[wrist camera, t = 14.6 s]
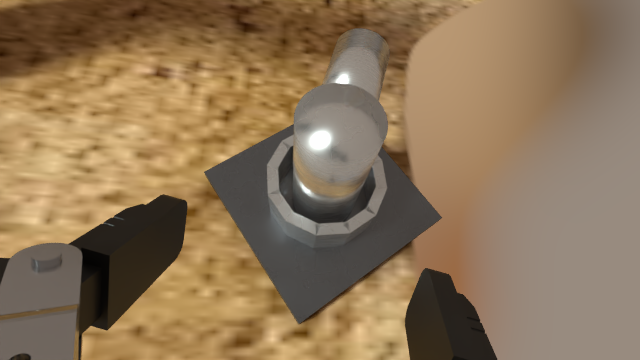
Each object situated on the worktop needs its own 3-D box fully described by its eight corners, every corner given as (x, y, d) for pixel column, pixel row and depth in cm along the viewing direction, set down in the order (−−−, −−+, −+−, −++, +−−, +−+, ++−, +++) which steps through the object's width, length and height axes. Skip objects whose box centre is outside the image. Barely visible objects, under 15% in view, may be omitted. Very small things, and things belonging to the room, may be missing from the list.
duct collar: (207, 178, 30) (193, 151, 25) (339, 106, 34) (346, 73, 30) (298, 324, 25) (300, 321, 21) (436, 222, 30) (461, 202, 25)
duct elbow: (346, 234, 27) (378, 173, 17) (284, 217, 28) (281, 147, 18) (370, 135, 31) (407, 39, 21) (316, 120, 32) (328, 19, 22)
